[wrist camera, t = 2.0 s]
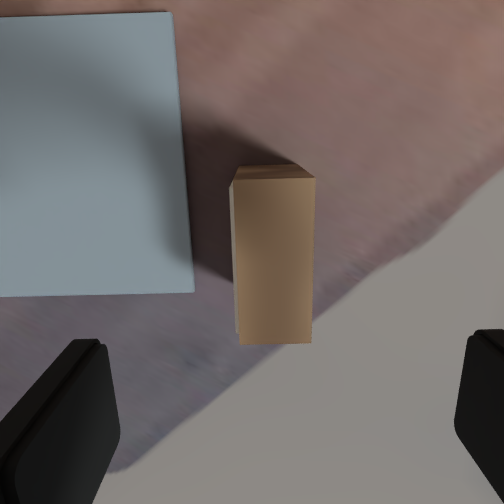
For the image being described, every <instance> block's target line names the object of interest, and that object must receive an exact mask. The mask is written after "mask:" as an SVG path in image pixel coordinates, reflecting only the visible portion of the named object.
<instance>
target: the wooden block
mask: <svg viewBox="0 0 504 504" xmlns="http://www.w3.org/2000/svg"><path fill="white" fill-rule="evenodd" d="M229 196H230V218H231V240H232V262H233V283H234V305H235V327H236V333H239V337H240V345H250V344H298V343H311V333H312V331H311V330H312V295H313V255H314V216H315V177H314V176H313V175H311V174H310V173H309V172H307V171H306V170H304V169H303V168H302V167H300V166H299V165H298V164H283V165H247V166H239V167H238V169H237V172H236V174H235V176H234V178H233V181H232V183H231V185H230V187H229Z"/></svg>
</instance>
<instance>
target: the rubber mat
mask: <svg viewBox="0 0 504 504" xmlns="http://www.w3.org/2000/svg"><path fill="white" fill-rule="evenodd" d="M194 291H195V282H194V269H193V257H192V245H191V232H190V220H189V208H188V195H187V183H186V171H185V158H184V146H183V134H182V121H181V109H180V97H179V84H178V72H177V60H176V47H175V35H174V23H173V14H172V13H171V12H153V13H122V14H92V15H62V16H31V17H1V18H0V297H17V296H61V295H104V294H148V293H192V292H194Z"/></svg>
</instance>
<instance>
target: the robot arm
mask: <svg viewBox="0 0 504 504" xmlns="http://www.w3.org/2000/svg"><path fill="white" fill-rule="evenodd" d="M454 427H455V431H456V434H457V436H458V437H459V439H460V440H461V442H462V443H463V445H464V446H465V448H466V449H467V451H468V452H469V453H470V455H471V456H472V458H473V459H474V461H475V462H476V464H477V465H478V467H479V468H480V470H481V471H482V472H483V474H484V475H485V477H486V478H487V480H488V481H489V483H490V484H491V486H492V487H493V488H494V490H495V491H496V493H497V494H498V496H499V497H500V499H501V500H502V502H503V503H504V330H503V329H487V330H486V329H485V330H477V331H475V333H474V335H472V336H470V337H469V338H468V340H467V345H466V351H465V357H464V364H463V370H462V375H461V382H460V388H459V394H458V400H457V406H456V412H455V418H454ZM119 439H120V424H119V418H118V411H117V405H116V399H115V393H114V387H113V381H112V375H111V369H110V362H109V356H108V350H107V347H106V345H105V344H100V341H99V340H98V339H74V340H73V341H71V343H70V344H69V345H68V346H67V347H66V348H65V349H64V350H63V352H62V353H61V354H60V355H59V356H58V357H57V358H56V359H55V361H54V362H53V363H52V364H51V365H50V366H49V367H48V369H47V370H46V371H45V372H44V373H43V374H42V375H41V376H40V378H39V379H38V380H37V381H36V382H35V383H34V384H33V385H32V387H31V388H30V389H29V390H28V391H27V392H26V393H25V395H24V396H23V397H22V398H21V399H20V400H19V401H18V402H17V404H16V405H15V406H14V407H13V408H12V409H11V410H10V412H9V413H8V414H7V415H6V416H5V417H4V418H3V419H2V421H1V422H0V504H92V503H93V500H94V498H95V496H96V493H97V491H98V489H99V487H100V484H101V482H102V480H103V478H104V475H105V473H106V471H107V468H108V466H109V464H110V462H111V459H112V457H113V455H114V452H115V450H116V448H117V445H118V443H119Z"/></svg>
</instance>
